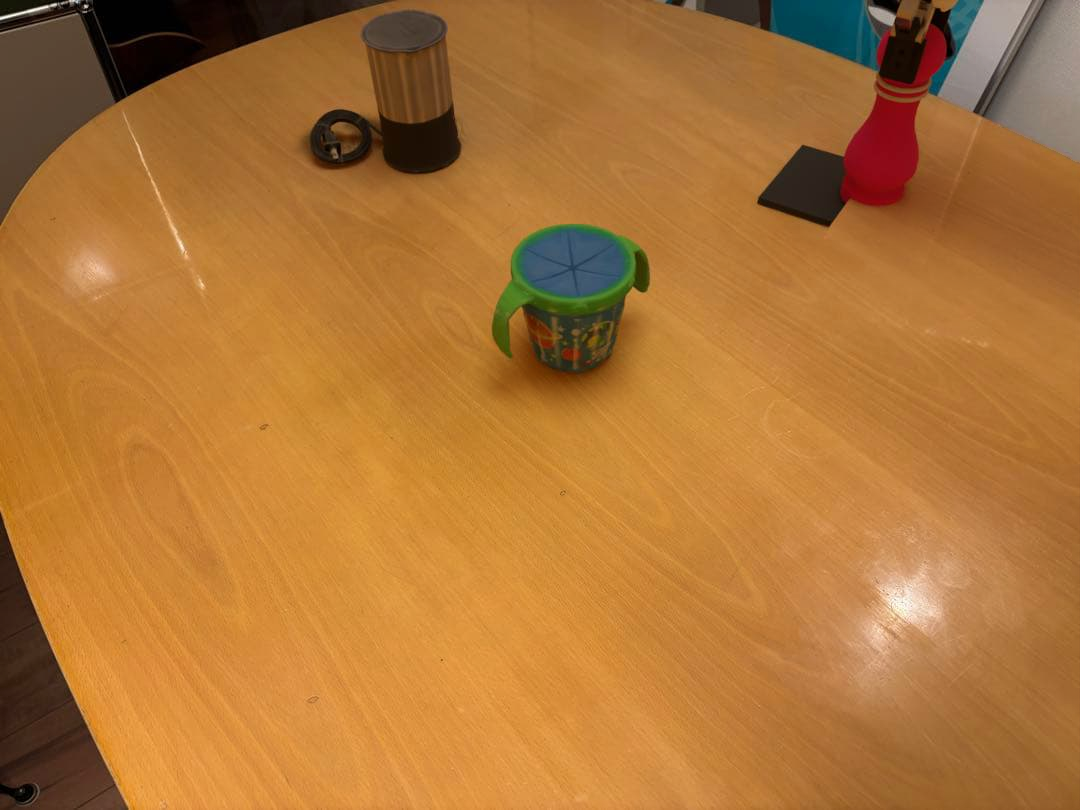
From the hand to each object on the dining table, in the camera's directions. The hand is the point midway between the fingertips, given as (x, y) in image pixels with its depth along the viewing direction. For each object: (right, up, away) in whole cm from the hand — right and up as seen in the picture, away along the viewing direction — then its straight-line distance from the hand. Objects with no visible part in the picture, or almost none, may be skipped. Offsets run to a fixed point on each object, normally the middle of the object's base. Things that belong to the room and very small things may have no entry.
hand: (909, 61), depth 81 cm
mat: (+1, -10, +12) cm, 16 cm away
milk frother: (-52, -2, +22) cm, 57 cm away
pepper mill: (+1, -10, +11) cm, 15 cm away
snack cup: (-31, -27, -1) cm, 41 cm away
